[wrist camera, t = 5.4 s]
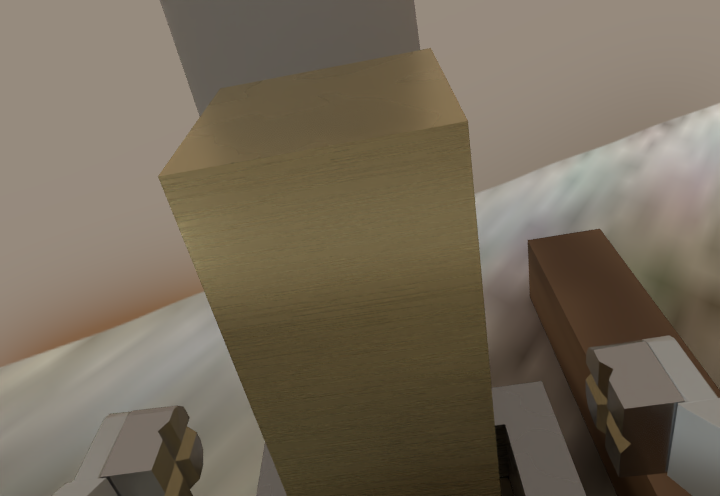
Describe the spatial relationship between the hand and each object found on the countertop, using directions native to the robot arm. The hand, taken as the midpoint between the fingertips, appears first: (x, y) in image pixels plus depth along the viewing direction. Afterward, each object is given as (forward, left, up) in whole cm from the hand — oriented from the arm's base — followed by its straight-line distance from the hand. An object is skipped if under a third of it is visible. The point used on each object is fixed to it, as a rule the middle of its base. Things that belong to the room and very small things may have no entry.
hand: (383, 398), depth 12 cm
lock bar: (0, +1, -8) cm, 8 cm away
